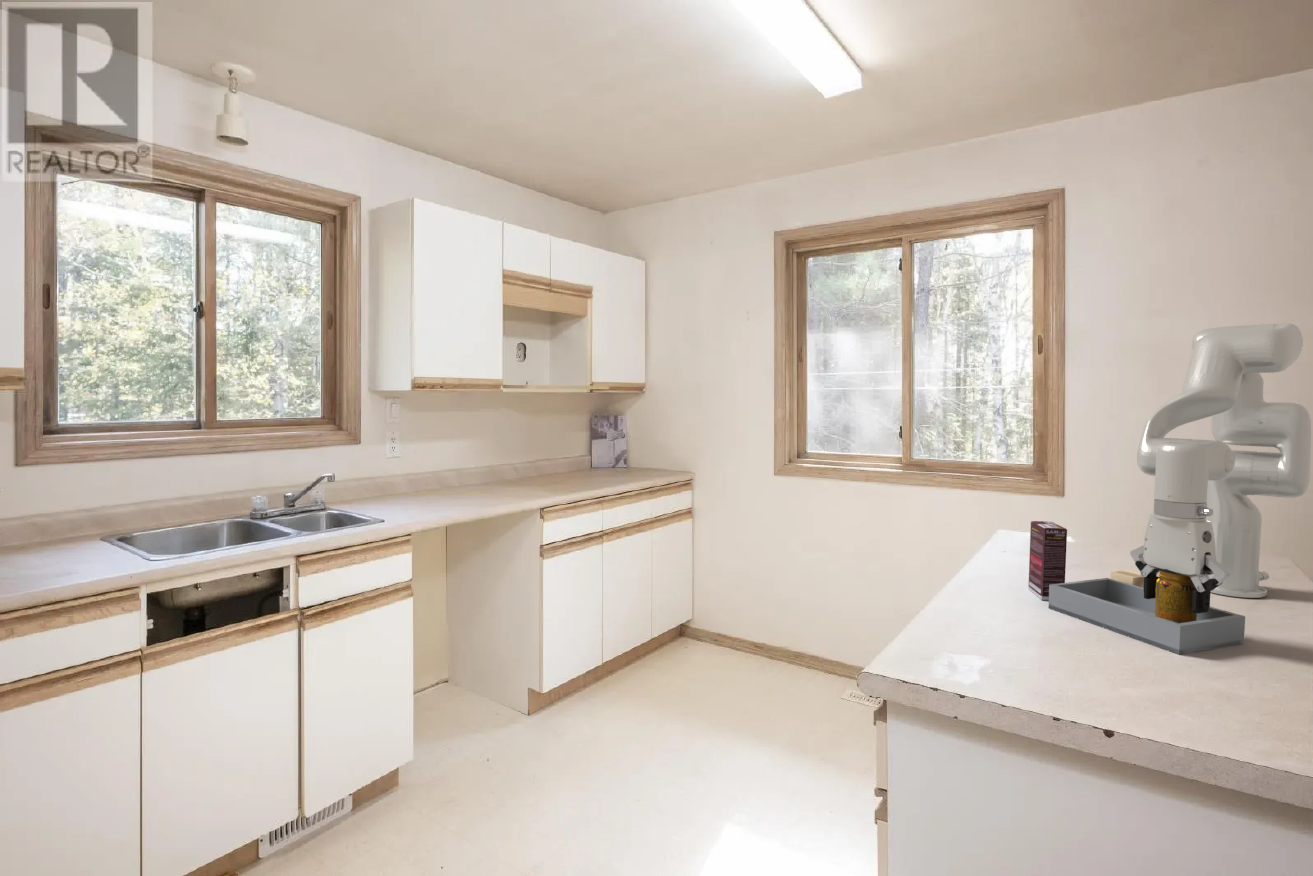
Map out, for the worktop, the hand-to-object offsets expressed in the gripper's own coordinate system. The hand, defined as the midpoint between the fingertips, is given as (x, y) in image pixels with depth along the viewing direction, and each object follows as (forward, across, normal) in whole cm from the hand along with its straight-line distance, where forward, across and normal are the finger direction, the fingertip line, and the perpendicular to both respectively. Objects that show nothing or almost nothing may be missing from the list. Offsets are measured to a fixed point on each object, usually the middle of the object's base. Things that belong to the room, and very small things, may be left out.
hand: (1174, 604), depth 122 cm
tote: (+6, +6, 0) cm, 9 cm away
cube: (+6, +20, -16) cm, 27 cm away
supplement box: (+6, +26, +1) cm, 27 cm away
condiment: (+5, -1, 0) cm, 5 cm away
